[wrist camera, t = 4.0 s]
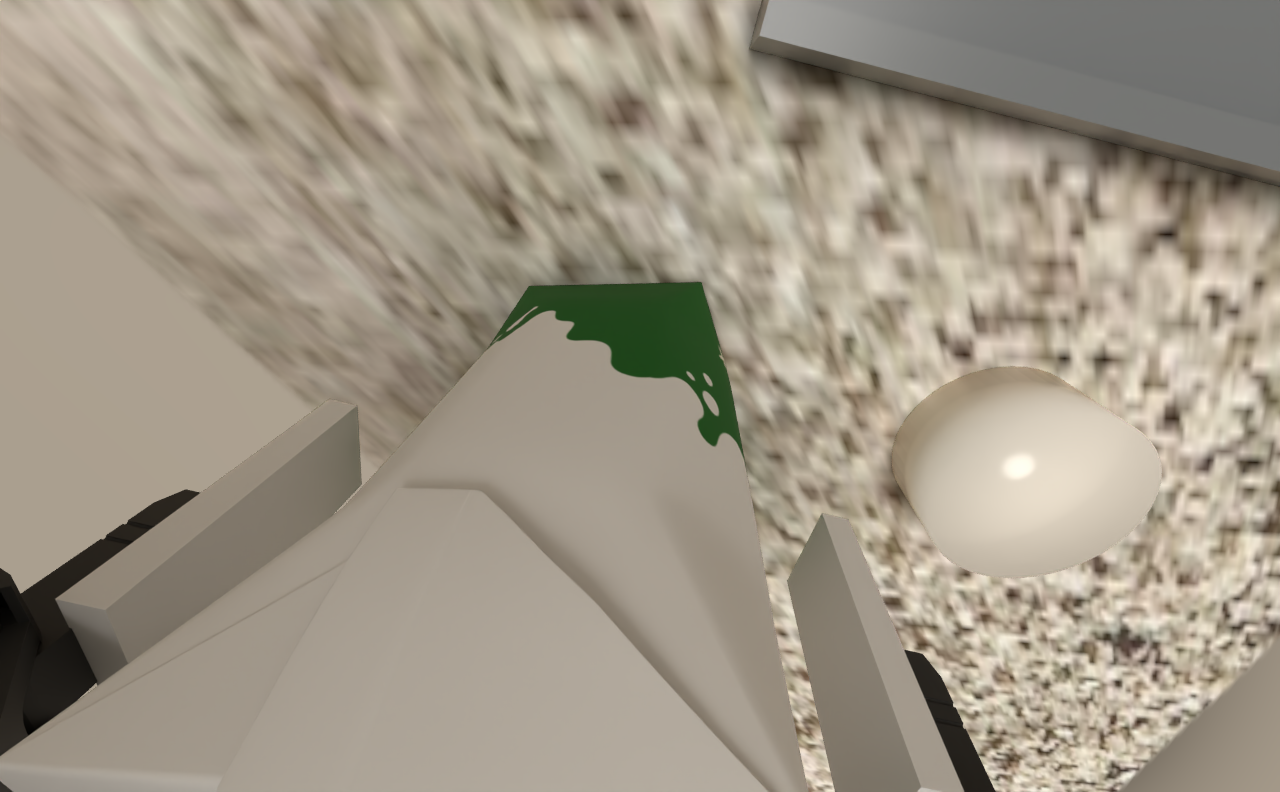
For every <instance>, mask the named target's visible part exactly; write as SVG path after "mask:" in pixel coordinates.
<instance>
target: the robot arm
mask: <svg viewBox="0 0 1280 792" xmlns="http://www.w3.org/2000/svg"><path fill="white" fill-rule="evenodd" d="M361 484H362V481H361V462H360V444H359V426H358V408H357V405H354V404H349V403H345V402H341V401H336V400H332V399H329V400H327V401H326V402H324V403H323V404H322V405H320V406H319V407H318V408H316V409H315V410H314V411H312V412H311V413H309V414H308V415H307V416H305V417H304V418H303V419H301V420H300V421H298V422H297V423H296V424H294V425H293V426H292V427H290V428H289V429H288V430H286V431H285V432H283V433H282V434H281V435H279V436H278V437H277V438H275V439H274V440H272V441H271V442H270V443H268V444H267V445H266V446H264V447H263V448H261V449H260V450H259V451H257V452H256V453H255V454H253V455H252V456H251V457H249V458H248V459H247V460H245V461H244V462H242V463H241V464H240V465H238V466H237V467H235V468H234V469H233V470H231V471H230V472H229V473H227V474H226V475H225V476H223V477H222V478H220V479H219V480H218V481H216V482H215V483H214V484H212V485H211V486H209V487H208V488H207V489H205V490H204V491H203V492H201V493H199V492H195V491H190V490H183V491H181V492H179V493H176V494H174V495H171V496H169V497H166V498H164V499H161V500H159V501H157V502H154V503H153V504H151V505H150V506H148V507H147V508H145V509H144V510H143V511H141V512H140V513H138V514H137V515H136V516H134V517H132V518H131V519H129V520H128V522H127V524H125V525H124V524H122V525H121V526H119V527H118V528H116V529H115V530H113V531H112V532H110V533H109V534H107V535H106V538H105V539H103V540H102V539H100V540H99V541H97V542H96V543H95V544H93V545H92V546H90V547H88V548H87V549H86V550H84V551H83V552H81V553H80V554H78V555H77V556H75V557H74V558H72V559H71V560H69V561H68V562H66V563H65V564H64V565H62V566H61V567H59V568H58V569H56V570H55V571H53V572H52V573H51V574H49V575H47V576H46V577H45V578H43V579H42V580H40V581H39V582H37V583H36V584H34V585H33V586H31V587H30V588H29V589H27V590H26V591H24V592H23V593H21V594H20V592H19V590H18V588H17V586H16V585H15V583H14V581H13V579H12V577H11V575H10V574H8V573H7V572H5V571H4V570H2V569H1V568H0V756H1V755H3V754H4V753H5V752H7V751H8V750H10V749H11V748H12V747H14V746H15V745H17V744H18V743H19V742H21V741H22V740H23V739H25V738H26V737H28V736H29V735H30V734H32V733H33V732H35V731H36V730H37V729H39V728H40V727H41V726H43V725H44V724H46V723H47V722H48V721H50V720H51V719H53V718H54V717H55V716H57V715H58V714H59V713H61V712H62V711H64V710H65V709H66V708H68V707H69V706H70V705H72V704H73V703H75V702H76V701H77V700H78V699H79V698H80V697H81V696H82V695H83V694H85V693H86V692H87V691H88V690H89V689H90V688H91V687H92V686H93V685H94V684H95V683H97V686H98V685H100V684H101V683H102V682H104V681H105V680H106V679H108V678H109V677H111V676H112V675H113V674H115V673H116V672H118V671H119V670H120V669H122V668H123V667H124V666H126V665H127V664H129V663H130V662H131V661H133V660H134V659H136V658H137V657H138V656H140V655H141V654H142V653H144V652H145V651H147V650H148V649H149V648H151V647H152V646H154V645H155V644H156V643H158V642H159V641H160V640H162V639H163V638H165V637H166V636H167V635H169V634H170V633H172V632H173V631H174V630H176V629H177V628H178V627H180V626H181V625H183V624H184V623H185V622H187V621H188V620H190V619H191V618H192V617H194V616H195V615H196V614H198V613H199V612H201V611H202V610H203V609H205V608H206V607H208V606H209V605H210V604H212V603H213V602H214V601H216V600H217V599H219V598H220V597H221V596H223V595H224V594H225V593H227V592H228V591H230V590H231V589H232V588H234V587H235V586H237V585H238V584H239V583H241V582H242V581H243V580H245V579H246V578H248V577H249V576H250V575H252V574H253V573H254V572H256V571H257V570H259V569H260V568H261V567H263V566H264V565H265V564H267V563H268V562H270V561H271V560H272V559H274V558H275V557H277V556H278V555H279V554H281V553H282V552H283V551H285V550H286V549H288V548H289V547H290V546H292V545H293V544H294V543H296V542H297V541H299V540H300V539H301V538H303V537H304V536H305V535H307V534H308V533H309V532H311V531H312V530H314V529H315V528H316V527H318V526H319V525H320V524H322V523H323V522H324V521H326V520H327V519H328V518H330V517H331V516H332V515H333V514H334V513H335V512H336V511H337V510H338V509H339V508H340V507H341V506H342V505H343V503H344V502H345V501H346V500H347V499H348V498H349V497H350V496H351V495H352V494H353V493H354V492H355V491H356V490H357V489H358V488H359V486H360V485H361ZM787 582H788V587H789V591H790V596H791V600H792V604H793V609H794V613H795V618H796V622H797V626H798V631H799V635H800V640H801V644H802V648H803V653H804V657H805V662H806V666H807V670H808V675H809V679H810V683H811V688H812V692H813V697H814V701H815V705H816V710H817V714H818V719H819V723H820V727H821V732H822V736H823V741H824V745H825V749H826V754H827V758H828V763H829V767H830V771H831V776H832V780H833V785H834V789H835V792H995V790H994V788H993V785H992V783H991V781H990V779H989V777H988V775H987V773H986V771H985V769H984V766H983V764H982V762H981V760H980V758H979V756H978V754H977V752H976V750H975V747H974V745H973V743H972V741H971V739H970V737H969V735H968V733H967V731H966V729H964V728H963V722H962V720H961V718H960V716H959V714H958V712H957V709H956V708H955V707H953V701H952V699H951V697H950V695H949V692H948V690H947V688H946V686H945V684H944V682H943V680H942V678H941V676H940V675H939V674H938V673H937V671H936V670H935V669H934V668H933V666H932V665H931V664H930V663H929V661H928V660H927V659H926V658H925V656H924V655H923V654H921V653H916V652H912V651H908V650H904V649H903V646H902V644H901V642H900V639H899V637H898V635H897V632H896V630H895V628H894V625H893V623H892V621H891V618H890V616H889V614H888V611H887V609H886V606H885V604H884V602H883V599H882V597H881V595H880V592H879V590H878V588H877V585H876V583H875V581H874V578H873V576H872V574H871V571H870V569H869V567H868V564H867V562H866V559H865V557H864V555H863V552H862V550H861V548H860V545H859V543H858V541H857V538H856V536H855V534H854V531H853V529H852V527H851V524H850V522H849V519H845V518H841V517H836V516H832V515H828V514H823V513H822V514H821V516H820V518H819V520H818V522H817V524H816V526H815V528H814V530H813V532H812V534H811V536H810V538H809V540H808V541H807V543H806V545H805V547H804V549H803V551H802V553H801V555H800V557H799V559H798V561H797V563H796V565H795V567H794V569H793V571H792V573H791V574H790V576H789V578H788V580H787ZM0 792H13V791H12V790H10V789H9V788H8V787H7V786H6V785H4V784H3V783H2V782H1V781H0Z"/></svg>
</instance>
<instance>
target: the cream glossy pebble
mask: <svg viewBox="0 0 1280 792" xmlns="http://www.w3.org/2000/svg"><path fill="white" fill-rule="evenodd" d="M891 459H892V470H893V474H894V477H895V479H896V482H897V483H898V485H899V487H900V488H901V490H902V492H903V493H904V495H905V497H906V498H907V500H908V502H909V503H910V505H911V506H912V508H913V510H914V511H915V513H916V515H917V516H918V518H919V520H920V521H921V523H922V525H923V526H924V528H925V529H926V531H927V533H928V534H929V536H930V538H931V539H932V541H933V543H934V544H935V546H936V547H937V549H938V550H939V551H940V552H941V553H942V554H943V556H945V557H946V558H947V559H948V560H950V561H951V562H952V563H954V564H956V565H957V566H959V567H961V568H963V569H966V570H968V571H971V572H974V573H977V574H981V575H986V576H992V577H1001V578H1024V577H1034V576H1040V575H1045V574H1050V573H1054V572H1058V571H1062V570H1065V569H1068V568H1071V567H1074V566H1076V565H1079V564H1081V563H1083V562H1086V561H1088V560H1090V559H1092V558H1094V557H1096V556H1098V555H1100V554H1101V553H1103V552H1105V551H1106V550H1108V549H1110V548H1111V547H1113V546H1114V545H1116V544H1117V543H1118V542H1120V541H1121V540H1122V539H1123V538H1125V537H1126V536H1127V535H1128V534H1129V533H1130V532H1131V531H1132V530H1133V529H1134V528H1135V527H1137V525H1138V524H1139V523H1140V522H1141V521H1142V519H1143V518H1144V517H1145V516H1146V514H1147V513H1148V511H1149V510H1150V508H1151V507H1152V505H1153V503H1154V501H1155V499H1156V497H1157V494H1158V491H1159V487H1160V484H1161V475H1162V470H1161V461H1160V458H1159V455H1158V452H1157V450H1156V449H1155V447H1154V445H1153V444H1152V442H1151V441H1150V440H1149V439H1148V438H1147V437H1146V436H1145V435H1144V433H1142V432H1141V431H1139V430H1138V429H1137V428H1135V427H1134V426H1132V425H1131V424H1129V423H1128V422H1126V421H1125V420H1123V419H1122V418H1120V417H1119V416H1117V415H1116V414H1114V413H1113V412H1111V411H1109V410H1108V409H1106V408H1105V407H1103V406H1102V405H1100V404H1099V403H1097V402H1096V401H1094V400H1093V399H1091V398H1090V397H1088V396H1087V395H1085V394H1083V393H1082V392H1080V391H1079V390H1077V389H1076V388H1074V387H1073V386H1071V385H1070V384H1068V383H1067V382H1065V381H1064V380H1062V379H1061V378H1059V377H1057V376H1055V375H1053V374H1051V373H1048V372H1045V371H1042V370H1039V369H1034V368H1028V367H1016V366H1009V367H996V368H991V369H985V370H981V371H977V372H974V373H970V374H968V375H965V376H962V377H960V378H957V379H955V380H953V381H951V382H949V383H947V384H945V385H944V386H942V387H941V388H939V389H937V390H936V391H934V392H933V393H932V394H930V395H929V396H928V397H926V398H925V399H924V400H923V401H922V402H921V403H920V404H918V405H917V406H916V407H915V408H914V409H913V411H912V412H911V413H910V414H909V415H908V417H907V418H906V419H905V421H904V423H903V424H902V426H901V427H900V429H899V431H898V433H897V436H896V438H895V441H894V444H893V449H892V456H891Z"/></svg>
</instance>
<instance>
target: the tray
mask: <svg viewBox="0 0 1280 792" xmlns="http://www.w3.org/2000/svg"><path fill="white" fill-rule="evenodd" d="M749 49H752V50H756V51H760V52H764V53H768V54H771V55H775V56H779V57H783V58H787V59H791V60H795V61H798V62H802V63H806V64H810V65H814V66H818V67H821V68H825V69H829V70H833V71H837V72H841V73H845V74H848V75H852V76H856V77H860V78H864V79H868V80H872V81H875V82H879V83H883V84H887V85H891V86H895V87H898V88H902V89H906V90H910V91H914V92H918V93H922V94H925V95H929V96H933V97H937V98H941V99H945V100H949V101H952V102H956V103H960V104H964V105H968V106H972V107H976V108H979V109H983V110H987V111H991V112H995V113H999V114H1002V115H1006V116H1010V117H1014V118H1018V119H1022V120H1026V121H1029V122H1033V123H1037V124H1041V125H1045V126H1049V127H1053V128H1056V129H1060V130H1064V131H1068V132H1072V133H1076V134H1079V135H1083V136H1087V137H1091V138H1095V139H1099V140H1103V141H1106V142H1110V143H1114V144H1118V145H1122V146H1126V147H1130V148H1133V149H1137V150H1141V151H1145V152H1149V153H1153V154H1157V155H1160V156H1164V157H1168V158H1172V159H1176V160H1180V161H1183V162H1187V163H1191V164H1195V165H1199V166H1203V167H1207V168H1210V169H1214V170H1218V171H1222V172H1226V173H1230V174H1234V175H1237V176H1241V177H1245V178H1249V179H1253V180H1257V181H1260V182H1264V183H1268V184H1272V185H1276V186H1280V0H762V3H761V7H760V10H759V14H758V18H757V21H756V25H755V29H754V33H753V36H752V40H751V44H750V47H749Z"/></svg>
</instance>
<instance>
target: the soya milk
mask: <svg viewBox="0 0 1280 792" xmlns="http://www.w3.org/2000/svg"><path fill="white" fill-rule="evenodd" d="M0 781H1V782H2V783H3V784H4V785H6V786H7V787H8V788H9V789H10V790H12V791H13V792H808V788H807V783H806V779H805V774H804V769H803V764H802V760H801V755H800V750H799V745H798V740H797V735H796V730H795V725H794V720H793V715H792V710H791V705H790V701H789V696H788V691H787V686H786V681H785V676H784V671H783V666H782V661H781V656H780V651H779V646H778V642H777V637H776V632H775V626H774V621H773V615H772V610H771V604H770V598H769V592H768V586H767V581H766V575H765V569H764V564H763V558H762V552H761V547H760V541H759V536H758V530H757V525H756V519H755V514H754V509H753V503H752V498H751V492H750V487H749V481H748V476H747V471H746V465H745V460H744V454H743V449H742V444H741V438H740V433H739V428H738V422H737V417H736V411H735V406H734V401H733V396H732V391H731V386H730V381H729V377H728V373H727V369H726V365H725V362H724V358H723V355H722V351H721V348H720V344H719V341H718V337H717V334H716V331H715V327H714V324H713V320H712V317H711V314H710V310H709V307H708V304H707V300H706V297H705V293H704V290H703V286H702V283H701V282H693V283H647V284H602V285H556V286H529V287H528V288H527V290H526V291H525V293H524V294H523V296H522V297H521V299H520V301H519V302H518V304H517V305H516V307H515V308H514V310H513V311H512V313H511V314H510V316H509V317H508V319H507V320H506V322H505V323H504V325H503V326H502V328H501V329H500V331H499V332H498V334H497V335H496V337H495V338H494V340H493V342H492V343H491V345H490V346H489V348H488V349H487V350H486V351H485V352H484V353H483V354H482V356H481V357H480V358H479V359H478V360H477V361H476V362H475V363H474V364H473V366H472V367H471V368H470V369H469V370H468V371H467V372H466V373H465V374H464V376H463V377H462V378H461V379H460V380H459V381H458V382H457V383H456V384H455V386H454V387H453V388H452V389H451V390H450V391H449V392H448V393H447V394H446V396H445V397H444V398H443V399H442V400H441V401H440V402H439V403H438V404H437V405H436V407H435V408H434V409H433V410H432V411H431V412H430V413H429V414H428V415H427V417H426V418H425V419H424V420H423V421H422V422H421V423H420V424H419V425H418V426H417V428H416V429H415V430H414V431H413V432H412V433H411V434H410V435H409V436H408V437H407V439H406V440H405V441H404V442H403V443H402V444H401V445H400V446H399V447H398V449H397V450H396V451H395V452H394V453H393V454H392V455H391V456H390V457H389V458H388V460H387V461H386V462H385V463H384V464H383V465H382V466H381V467H380V468H379V470H378V471H377V472H376V473H375V474H374V475H373V476H372V477H371V478H370V479H369V480H368V481H367V482H366V484H365V485H364V486H363V487H362V488H361V489H360V490H359V491H358V492H357V493H356V494H355V496H354V497H353V498H352V499H351V500H350V501H349V502H348V503H347V504H346V505H345V506H344V507H343V508H342V509H341V510H339V511H338V512H337V513H335V514H334V515H332V516H331V517H330V518H328V519H327V520H326V521H324V522H323V523H322V524H320V525H319V526H318V527H316V528H315V529H314V530H312V531H311V532H309V533H308V534H307V535H305V536H304V537H303V538H301V539H300V540H299V541H297V542H296V543H294V544H293V545H292V546H290V547H289V548H288V549H286V550H285V551H283V552H282V553H281V554H279V555H278V556H277V557H275V558H274V559H272V560H271V561H270V562H268V563H267V564H265V565H264V566H263V567H261V568H260V569H259V570H257V571H256V572H254V573H253V574H252V575H250V576H249V577H248V578H246V579H245V580H243V581H242V582H241V583H239V584H238V585H237V586H235V587H234V588H232V589H231V590H230V591H228V592H227V593H225V594H224V595H223V596H221V597H220V598H219V599H217V600H216V601H214V602H213V603H212V604H210V605H209V606H208V607H206V608H205V609H203V610H202V611H201V612H199V613H198V614H196V615H195V616H194V617H192V618H191V619H190V620H188V621H187V622H185V623H184V624H183V625H181V626H180V627H178V628H177V629H176V630H174V631H173V632H172V633H170V634H169V635H167V636H166V637H165V638H163V639H162V640H160V641H159V642H158V643H156V644H155V645H154V646H152V647H151V648H149V649H148V650H147V651H145V652H144V653H142V654H141V655H140V656H138V657H137V658H136V659H134V660H133V661H131V662H130V663H129V664H127V665H126V666H124V667H123V668H122V669H120V670H119V671H118V672H116V673H115V674H113V675H112V676H111V677H109V678H108V679H106V680H105V681H104V682H102V683H101V684H100V685H98V686H97V687H95V688H94V689H93V690H91V691H90V692H88V693H87V694H86V695H84V696H83V697H82V698H80V699H79V700H77V701H76V702H75V703H73V704H72V705H70V706H69V707H68V708H66V709H65V710H64V711H62V712H61V713H59V714H58V715H57V716H55V717H54V718H53V719H51V720H50V721H48V722H47V723H46V724H44V725H43V726H41V727H40V728H39V729H37V730H36V731H35V732H33V733H32V734H30V735H29V736H28V737H26V738H25V739H23V740H22V741H21V742H19V743H18V744H17V745H15V746H14V747H12V748H11V749H10V750H8V751H7V752H5V753H4V754H3V755H1V756H0Z"/></svg>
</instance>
